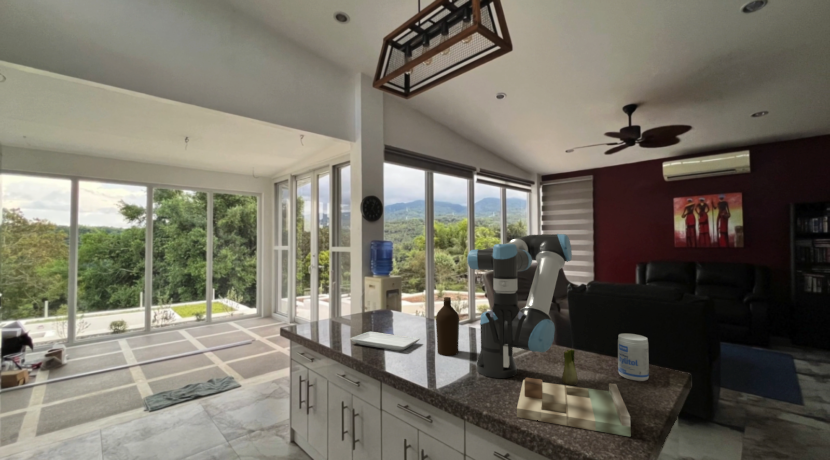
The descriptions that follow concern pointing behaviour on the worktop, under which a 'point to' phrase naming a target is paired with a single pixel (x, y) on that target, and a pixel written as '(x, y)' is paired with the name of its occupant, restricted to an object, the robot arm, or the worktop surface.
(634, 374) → the supplement tub
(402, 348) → the tray
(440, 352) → the olive oil
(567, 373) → the fennel bulb
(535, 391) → the block
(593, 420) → the board
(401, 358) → the worktop surface
